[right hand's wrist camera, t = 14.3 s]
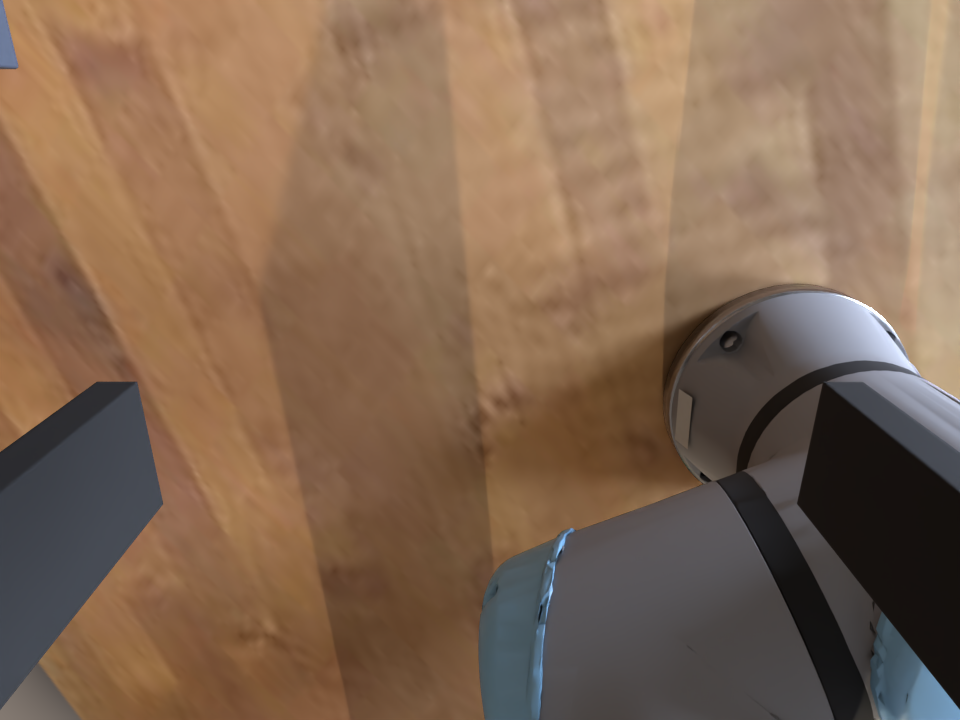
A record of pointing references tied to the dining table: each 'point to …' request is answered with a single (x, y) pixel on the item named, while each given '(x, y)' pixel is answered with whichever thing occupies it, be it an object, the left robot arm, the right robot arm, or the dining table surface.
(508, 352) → the dining table surface
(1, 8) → the bar
